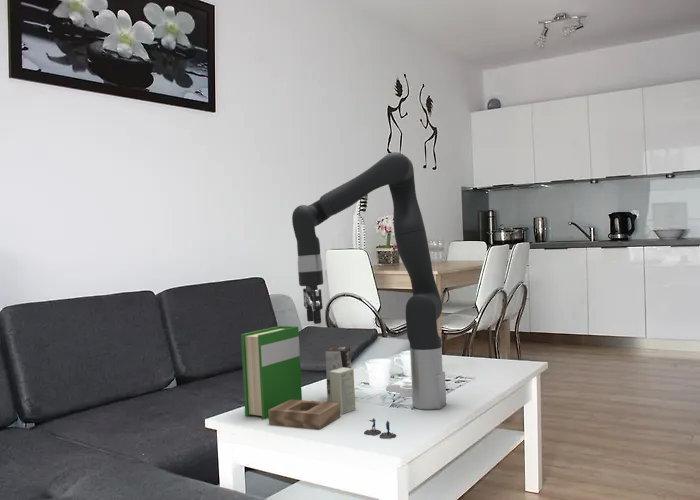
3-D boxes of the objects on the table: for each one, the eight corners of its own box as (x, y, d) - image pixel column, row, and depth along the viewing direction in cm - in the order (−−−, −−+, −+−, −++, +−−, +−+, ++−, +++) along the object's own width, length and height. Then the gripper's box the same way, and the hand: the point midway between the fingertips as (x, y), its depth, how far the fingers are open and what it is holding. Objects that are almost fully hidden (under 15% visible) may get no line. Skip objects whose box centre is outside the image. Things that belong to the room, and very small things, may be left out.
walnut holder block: (340, 417, 176) (339, 403, 176) (319, 429, 165) (319, 414, 165) (291, 412, 183) (290, 399, 183) (268, 424, 172) (268, 410, 172)
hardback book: (264, 419, 178) (260, 335, 177) (245, 416, 182) (240, 334, 181) (302, 404, 193) (298, 326, 192) (283, 402, 197) (279, 325, 196)
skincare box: (345, 407, 186) (343, 366, 186) (356, 409, 183) (354, 368, 183) (330, 412, 182) (328, 370, 182) (341, 414, 179) (339, 372, 179)
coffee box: (347, 403, 191) (344, 350, 191) (327, 403, 192) (324, 350, 192) (353, 395, 200) (350, 345, 200) (333, 395, 201) (331, 345, 201)
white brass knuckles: (408, 384, 214) (447, 388, 206) (381, 396, 199) (422, 400, 191) (407, 374, 214) (446, 377, 206) (380, 385, 199) (421, 389, 191)
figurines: (402, 436, 157) (401, 419, 157) (390, 441, 154) (389, 424, 154) (371, 429, 164) (370, 413, 164) (359, 434, 160) (358, 417, 160)
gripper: (327, 269, 187) (332, 323, 187) (316, 268, 201) (320, 319, 201) (303, 271, 185) (307, 325, 185) (293, 270, 199) (297, 321, 199)
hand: (314, 322), depth 193 cm, fingers open, 8 cm apart
